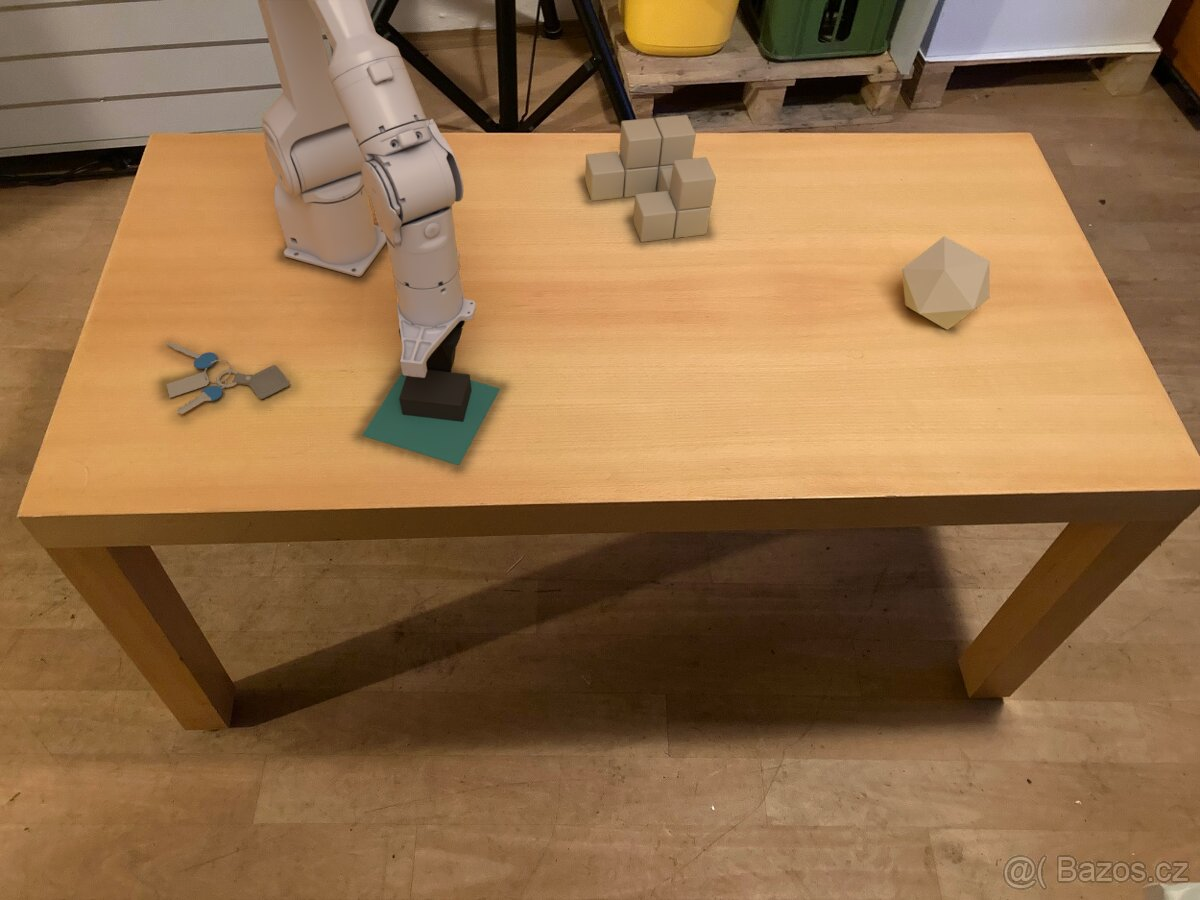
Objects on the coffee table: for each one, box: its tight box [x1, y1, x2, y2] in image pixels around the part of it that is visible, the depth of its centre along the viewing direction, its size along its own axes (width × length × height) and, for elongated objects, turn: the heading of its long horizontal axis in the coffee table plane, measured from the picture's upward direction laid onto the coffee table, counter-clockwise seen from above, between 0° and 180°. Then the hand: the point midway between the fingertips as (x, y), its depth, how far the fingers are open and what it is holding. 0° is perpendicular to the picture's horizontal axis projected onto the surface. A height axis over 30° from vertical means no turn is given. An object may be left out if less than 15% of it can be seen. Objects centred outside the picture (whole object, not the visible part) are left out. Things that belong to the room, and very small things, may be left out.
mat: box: [362, 372, 501, 466], centre depth 89 cm, size 10×10×1 cm
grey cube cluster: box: [584, 114, 717, 243], centre depth 105 cm, size 12×12×8 cm
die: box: [901, 235, 991, 331], centre depth 97 cm, size 8×9×10 cm
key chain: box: [165, 341, 291, 415], centre depth 89 cm, size 14×8×1 cm, turn 76°
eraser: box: [399, 370, 472, 422], centre depth 88 cm, size 6×4×2 cm, turn 83°
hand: (441, 370), depth 90 cm, fingers closed
